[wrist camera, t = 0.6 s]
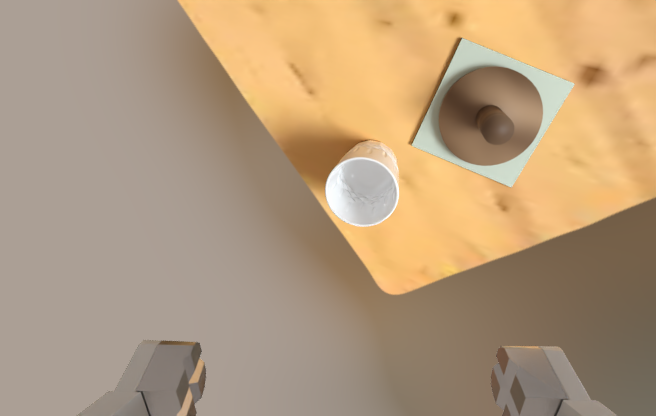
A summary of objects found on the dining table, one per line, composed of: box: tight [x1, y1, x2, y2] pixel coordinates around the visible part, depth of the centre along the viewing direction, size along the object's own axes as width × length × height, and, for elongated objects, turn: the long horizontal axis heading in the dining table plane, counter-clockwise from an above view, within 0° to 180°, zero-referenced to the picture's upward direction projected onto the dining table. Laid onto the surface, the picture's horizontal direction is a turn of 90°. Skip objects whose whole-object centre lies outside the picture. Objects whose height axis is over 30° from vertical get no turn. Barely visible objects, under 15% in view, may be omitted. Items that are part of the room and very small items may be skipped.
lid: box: [439, 66, 543, 166], centre depth 46 cm, size 11×11×7 cm
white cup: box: [325, 140, 399, 227], centre depth 50 cm, size 8×8×10 cm
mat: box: [412, 38, 574, 187], centre depth 49 cm, size 13×13×1 cm
